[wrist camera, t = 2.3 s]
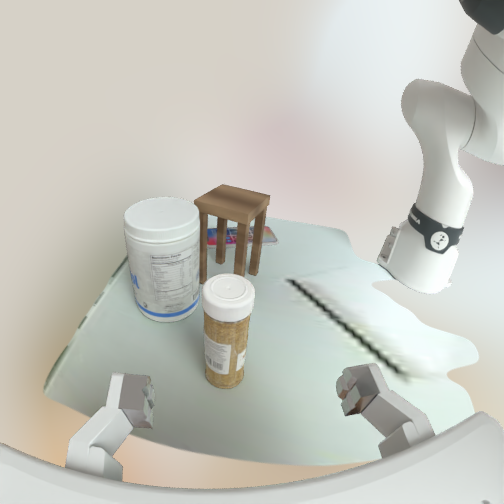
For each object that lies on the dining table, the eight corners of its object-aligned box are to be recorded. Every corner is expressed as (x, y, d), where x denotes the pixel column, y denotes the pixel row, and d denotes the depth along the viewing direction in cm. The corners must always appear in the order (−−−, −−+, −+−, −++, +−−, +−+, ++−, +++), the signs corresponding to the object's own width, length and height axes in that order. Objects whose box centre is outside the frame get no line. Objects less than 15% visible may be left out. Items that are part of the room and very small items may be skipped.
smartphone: (280, 242, 57) (205, 246, 53) (279, 246, 57) (205, 251, 53) (269, 225, 63) (201, 228, 59) (268, 229, 63) (201, 232, 59)
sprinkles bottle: (251, 379, 30) (266, 294, 23) (217, 396, 28) (218, 313, 21) (230, 353, 33) (236, 266, 26) (197, 367, 31) (192, 279, 24)
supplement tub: (130, 290, 41) (116, 202, 33) (185, 275, 46) (183, 191, 38) (148, 334, 34) (130, 236, 26) (211, 313, 39) (213, 219, 31)
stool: (218, 258, 51) (222, 184, 43) (259, 271, 49) (270, 195, 41) (194, 282, 44) (194, 200, 37) (239, 299, 42) (248, 214, 35)
